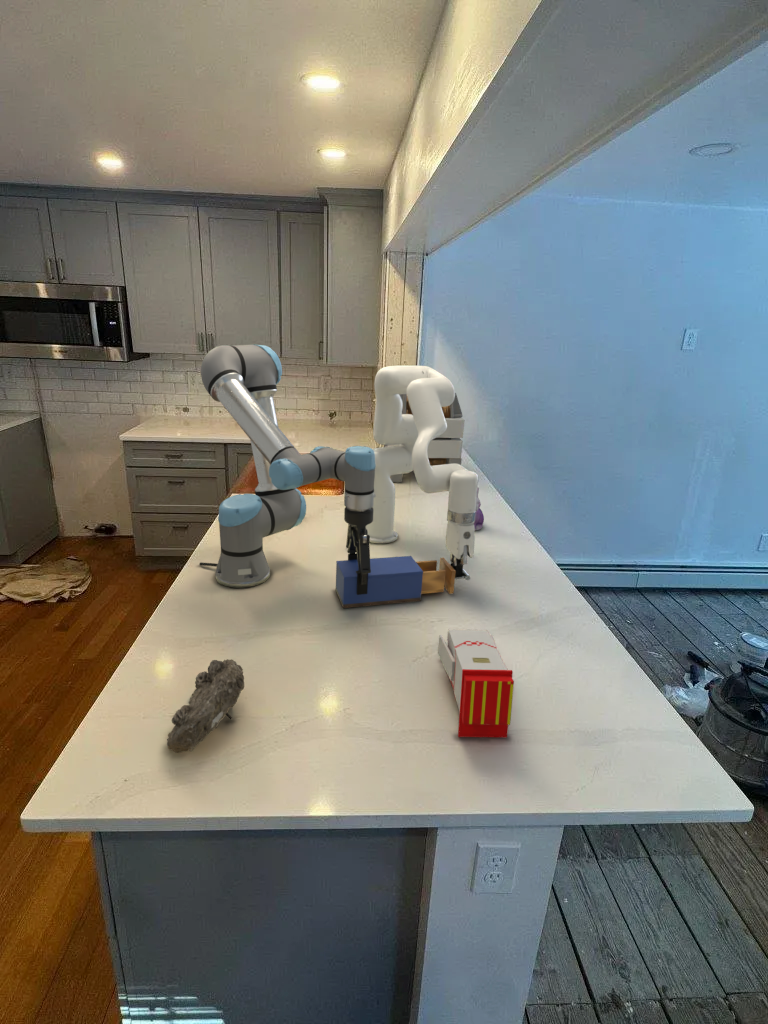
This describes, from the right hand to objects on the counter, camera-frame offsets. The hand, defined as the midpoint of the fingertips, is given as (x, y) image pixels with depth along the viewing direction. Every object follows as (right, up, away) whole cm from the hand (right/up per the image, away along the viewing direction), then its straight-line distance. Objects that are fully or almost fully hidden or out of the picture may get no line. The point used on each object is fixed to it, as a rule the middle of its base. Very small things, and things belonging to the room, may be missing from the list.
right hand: (455, 576), depth 161 cm
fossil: (-53, -21, -53) cm, 78 cm away
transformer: (-3, +37, +114) cm, 120 cm away
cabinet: (-22, -5, -4) cm, 23 cm away
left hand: (-28, -1, -7) cm, 29 cm away
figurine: (+12, +13, +48) cm, 51 cm away
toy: (-2, -19, -42) cm, 46 cm away
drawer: (-9, -3, -1) cm, 10 cm away
